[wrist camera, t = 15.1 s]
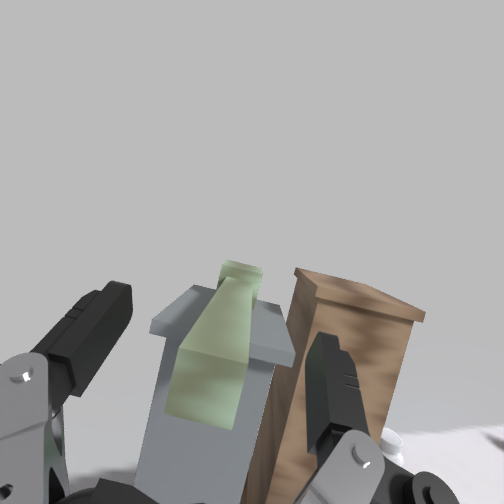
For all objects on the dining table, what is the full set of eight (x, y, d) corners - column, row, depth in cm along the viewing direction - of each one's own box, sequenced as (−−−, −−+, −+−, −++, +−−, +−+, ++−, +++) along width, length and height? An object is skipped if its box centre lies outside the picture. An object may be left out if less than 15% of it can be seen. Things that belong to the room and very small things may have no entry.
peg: (254, 298, 32) (261, 268, 32) (250, 434, 10) (273, 342, 10) (220, 290, 32) (227, 259, 32) (144, 409, 10) (165, 316, 10)
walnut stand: (308, 493, 41) (365, 284, 39) (335, 625, 27) (425, 312, 25) (242, 477, 41) (295, 267, 39) (235, 602, 27) (317, 286, 25)
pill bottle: (348, 476, 46) (364, 421, 46) (376, 477, 48) (391, 424, 47) (368, 509, 41) (386, 447, 41) (399, 509, 42) (416, 449, 42)
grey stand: (223, 527, 34) (279, 305, 32) (203, 709, 21) (295, 353, 19) (142, 508, 34) (194, 284, 32) (72, 678, 21) (152, 319, 19)
